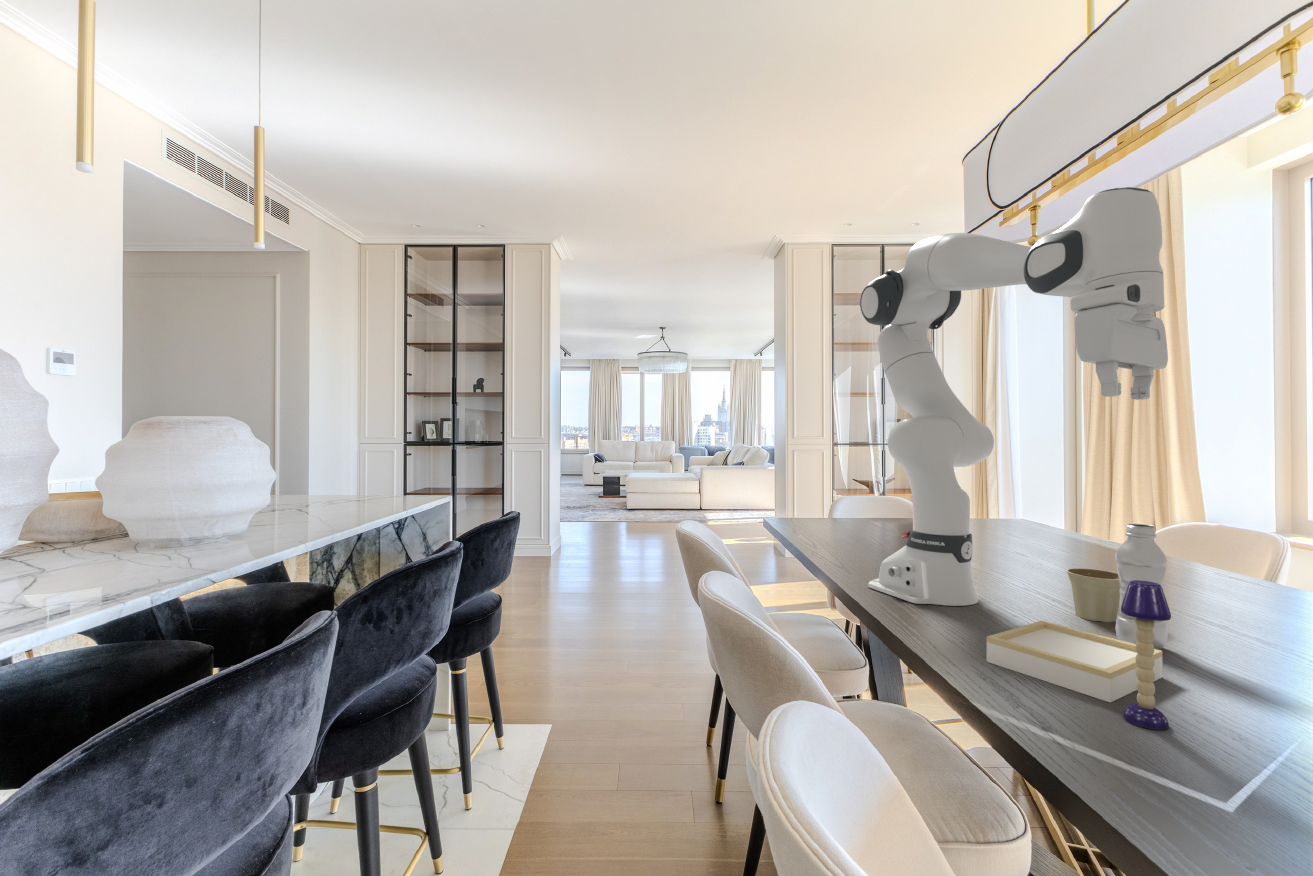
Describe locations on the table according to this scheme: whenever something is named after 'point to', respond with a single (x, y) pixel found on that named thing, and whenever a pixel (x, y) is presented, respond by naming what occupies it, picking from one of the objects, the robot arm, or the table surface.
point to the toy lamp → (1145, 649)
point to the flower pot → (1095, 593)
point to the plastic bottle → (1139, 577)
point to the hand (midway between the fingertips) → (1126, 397)
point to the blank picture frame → (1070, 658)
